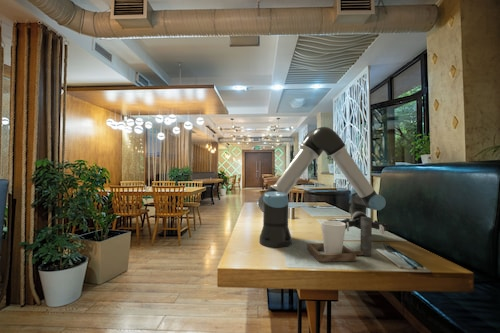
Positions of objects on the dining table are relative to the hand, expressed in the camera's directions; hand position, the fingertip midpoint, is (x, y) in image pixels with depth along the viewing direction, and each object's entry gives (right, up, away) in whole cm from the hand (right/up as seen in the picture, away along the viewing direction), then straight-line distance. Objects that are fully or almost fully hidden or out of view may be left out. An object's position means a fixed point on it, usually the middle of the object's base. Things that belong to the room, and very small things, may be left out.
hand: (365, 229), depth 104 cm
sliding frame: (-12, -9, -5) cm, 16 cm away
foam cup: (-16, -9, -5) cm, 19 cm away
